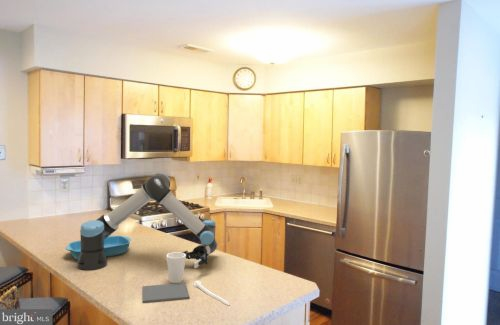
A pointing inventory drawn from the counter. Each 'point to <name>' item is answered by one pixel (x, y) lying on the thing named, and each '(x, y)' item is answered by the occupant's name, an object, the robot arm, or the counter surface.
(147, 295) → the mat
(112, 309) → the counter surface
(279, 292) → the counter surface
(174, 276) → the foam cup
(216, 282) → the counter surface
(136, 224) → the counter surface
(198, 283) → the white long knobbed rod
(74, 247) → the casserole dish
